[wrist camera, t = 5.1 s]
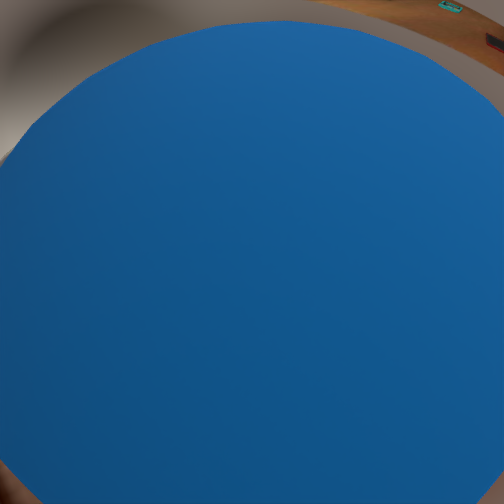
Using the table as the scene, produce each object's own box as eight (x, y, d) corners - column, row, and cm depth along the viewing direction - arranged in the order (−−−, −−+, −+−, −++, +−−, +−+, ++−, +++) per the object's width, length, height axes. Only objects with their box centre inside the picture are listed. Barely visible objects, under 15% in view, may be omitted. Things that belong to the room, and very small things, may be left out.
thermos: (330, 451, 22) (547, 570, 1) (204, 426, 24) (-93, 380, 3) (351, 331, 27) (479, 53, 6) (234, 312, 29) (117, 35, 8)
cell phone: (505, 44, 61) (506, 42, 60) (508, 57, 56) (509, 54, 55) (485, 34, 64) (485, 32, 63) (486, 45, 58) (487, 43, 58)
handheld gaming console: (438, 4, 75) (444, 0, 80) (437, 6, 76) (443, 2, 81) (458, 12, 72) (462, 7, 77) (458, 14, 73) (462, 9, 78)
